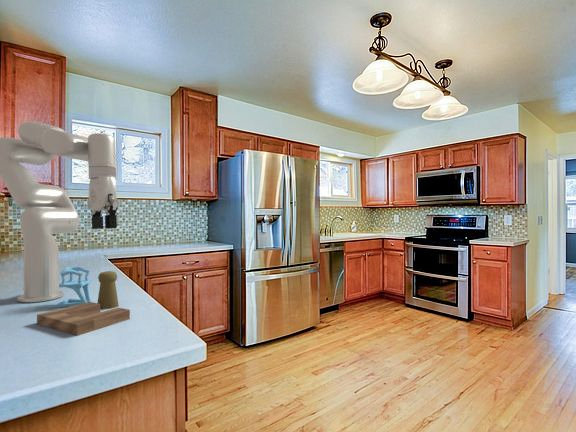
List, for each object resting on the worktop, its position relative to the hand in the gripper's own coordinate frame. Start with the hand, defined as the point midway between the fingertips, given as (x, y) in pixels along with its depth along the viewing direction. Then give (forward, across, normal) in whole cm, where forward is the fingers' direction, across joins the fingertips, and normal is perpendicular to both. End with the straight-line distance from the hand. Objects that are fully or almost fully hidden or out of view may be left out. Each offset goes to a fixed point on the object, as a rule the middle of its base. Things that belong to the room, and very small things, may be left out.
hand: (104, 228), depth 101 cm
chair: (+24, -12, -5) cm, 27 cm away
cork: (+25, -1, +1) cm, 25 cm away
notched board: (+25, +10, -10) cm, 28 cm away
